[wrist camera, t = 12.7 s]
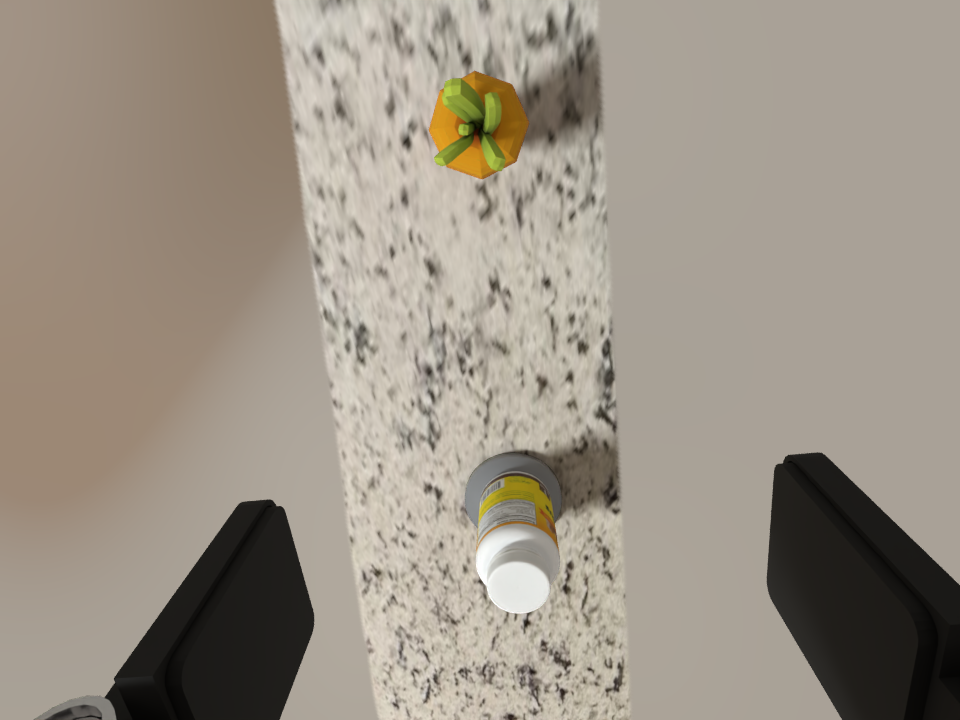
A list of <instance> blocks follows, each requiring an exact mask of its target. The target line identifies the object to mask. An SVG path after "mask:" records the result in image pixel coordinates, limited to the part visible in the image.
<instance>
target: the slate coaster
mask: <svg viewBox="0 0 960 720" xmlns="http://www.w3.org/2000/svg"><path fill="white" fill-rule="evenodd" d="M511 471H520V472H525V473H528V474H531V475H533V476H535V477H536V478H538V479H539V480H540V481H541V482H542V483H543V484H544V485H545V486H546V488H547V490H548V491H549V494H550V497H551V502H552V508H553V515H554V522H555V521H556V519H557V517H558V515H559V513H560V509H561V504H562V496H561V490H560V485H559V482H558V480H557V478H556V476H555V474H554V473H553V471H552V470H551V469H550V468H549V467H548V466H547V465H546V464H545V463H543V462H542V461H540V460H539V459H537V458H535V457H532V456H529V455H526V454H521V453H505V454H500V455H496V456H494V457H491V458H489V459H487V460H486V461H484V462H483V463H481V464H480V465H479V466H478V467H477V468H476V469H475V470H474V471H473V473H472V474H471V476H470V478H469V480H468V483H467V486H466V492H465V506H466V511H467V513H468V516H469V518H470V519H471V521H472V522H473V524H474V525H475V526H476V527H477V528H478V522H479V509H480V499H481V495H482V492H483V490H484V488H485V486H486V485H487V484H488V483H489V482H490V481H491V480H492V479H493V478H495V477H496V476H498V475H500V474H503V473H506V472H511Z"/></svg>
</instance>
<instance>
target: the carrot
mask: <svg viewBox="0 0 960 720" xmlns="http://www.w3.org/2000/svg"><path fill="white" fill-rule="evenodd" d="M528 125H529V121H528V119H527V117H526V114H525V112H524V110H523V107H522V105H521V103H520V101H519V98H518V96H517V94H516V92H515V89H514V87H513V85H512V84H510V83H507V82H504V81H501V80H498V79H496V78H493V77H490V76H487V75H485V74H482V73H479V72H476V71H474V72H472V73H470V74H468V75H467V76H465V77H463V78H455V79H450V80H448V81H446V82H445V86H444V89H442V90H440V92H439V96H438V99H437V103H436V106H435V110H434V113H433V117H432V121H431V124H430V128H429V132H430V134H431V136H432V138H433V140H434V142H435V144H436V146H437V148H438V150H439V153H438V154H437V155H436V156H435V157H434V159H435V162H436V163H437V164H438V165H440V166H445V165H446V167H448V168H451V169H454V170H457V171H460V172H462V173H465V174H468V175H471V176H474V177H477V178H480V179H484V178H486V177H488V176H490V175H492V174H494V173H496V172H498V171H502V169H503V168H505V167H507V166H509V165H511V164H513V163H515V162H516V161H517V158H518V155H519V152H520V149H521V146H522V143H523V140H524V137H525V134H526V131H527V128H528Z"/></svg>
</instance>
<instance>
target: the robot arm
mask: <svg viewBox="0 0 960 720" xmlns="http://www.w3.org/2000/svg"><path fill="white" fill-rule="evenodd" d="M772 496H773V497H772V510H771V525H770V540H769V554H768V570H767V587H768V592H769V595H770V597H771V600H772V602H773V603H774V605H775V607H776V609H777V610H778V612H779V614H780V615H781V617H782V619H783V620H784V622H785V624H786V626H787V627H788V629H789V630H790V632H791V634H792V636H793V637H794V639H795V641H796V642H797V644H798V646H799V648H800V649H801V651H802V652H803V654H804V656H805V658H806V659H807V661H808V663H809V664H810V666H811V668H812V670H813V671H814V673H815V675H816V676H817V678H818V680H819V681H820V683H821V685H822V686H823V688H824V690H825V691H826V693H827V695H828V696H829V698H830V700H831V702H832V703H833V705H834V706H835V708H836V710H837V712H838V713H839V715H840V717H841V718H842V720H960V585H959V584H958V583H957V582H956V581H955V580H954V579H953V578H952V577H951V576H949V574H948V573H946V571H944V570H943V569H942V568H941V567H940V566H939V565H938V564H937V563H936V562H935V561H934V560H933V559H932V558H931V557H930V556H929V555H928V554H927V553H926V552H925V551H924V550H923V549H922V548H921V547H920V546H919V545H918V544H916V542H914V541H913V540H912V539H911V538H910V537H909V536H908V535H907V534H906V533H905V532H904V531H903V530H902V529H901V528H900V527H899V526H898V525H897V524H896V523H895V522H894V521H893V520H892V519H891V518H890V517H889V516H888V515H886V514H885V513H884V512H883V511H882V510H881V509H880V508H879V507H878V506H877V505H876V504H875V503H874V502H873V501H872V500H871V499H870V498H869V497H868V496H867V495H866V494H865V493H864V492H863V491H862V490H861V489H859V488H858V487H857V486H856V485H855V484H854V483H853V482H852V481H851V480H850V479H849V478H848V477H847V476H846V475H845V474H844V473H843V472H842V471H841V470H840V469H839V468H838V467H837V466H836V465H835V464H834V463H833V462H832V461H831V460H830V459H828V458H827V457H826V456H825V455H824V454H823V453H807V454H795V455H788V456H786V457H785V459H784V461H783V464H777V465H776V467H775V470H774V481H773V495H772ZM313 627H314V612H313V608H312V605H311V601H310V598H309V594H308V591H307V587H306V584H305V580H304V577H303V573H302V569H301V566H300V562H299V559H298V555H297V552H296V548H295V545H294V541H293V537H292V534H291V530H290V527H289V523H288V520H287V516H286V513H285V510H284V508H283V507H281V506H276V504H275V503H274V502H273V501H272V500H259V501H247V502H242V503H240V504H239V505H238V506H237V507H236V508H235V510H234V511H233V513H232V514H231V515H230V517H229V518H228V520H227V521H226V522H225V524H224V525H223V527H222V528H221V530H220V531H219V532H218V534H217V535H216V536H215V538H214V539H213V541H212V542H211V543H210V545H209V546H208V548H207V549H206V550H205V552H204V553H203V555H202V556H201V557H200V559H199V560H198V562H197V563H196V564H195V566H194V567H193V569H192V570H191V571H190V573H189V574H188V575H187V577H186V578H185V580H184V581H183V582H182V584H181V585H180V587H179V588H178V589H177V591H176V593H175V594H174V595H173V596H172V598H171V599H170V601H169V602H168V603H167V605H166V606H165V608H164V609H163V611H162V612H161V613H160V615H159V616H158V618H157V619H156V620H155V622H154V623H153V624H152V626H151V627H150V629H149V630H148V631H147V633H146V634H145V636H144V637H143V638H142V640H141V641H140V643H139V644H138V646H137V647H136V648H135V649H134V651H133V652H132V654H131V655H130V656H129V658H128V659H127V661H126V662H125V663H124V665H123V666H122V668H121V669H120V670H119V672H118V673H117V675H116V676H115V678H114V681H115V684H114V685H113V686H112V688H111V689H110V691H109V692H108V694H107V695H106V696H105V698H103V697H101V696H84V697H79V698H75V699H71V700H69V701H66V702H64V703H62V704H60V705H57V706H55V707H53V708H51V709H50V710H48V711H47V712H45V713H43V714H42V715H40V716H39V717H37V718H35V719H34V720H279V719H280V717H281V714H282V711H283V709H284V706H285V704H286V701H287V698H288V696H289V693H290V691H291V688H292V685H293V682H294V680H295V677H296V675H297V672H298V669H299V667H300V664H301V661H302V659H303V656H304V653H305V651H306V648H307V646H308V643H309V640H310V638H311V635H312V632H313Z"/></svg>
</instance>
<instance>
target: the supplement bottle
mask: <svg viewBox="0 0 960 720" xmlns="http://www.w3.org/2000/svg"><path fill="white" fill-rule="evenodd" d="M476 567H477V571H478V574H479V576H480V578H481V580H482V581H483V583H484V584H485V585H486V586H487V590H488V594H489V596H490V598H491V600H492V601H493V602H494V604H496V605H497V606H498V607H499V608H501V609H503V610H505V611H507V612H511V613H528V612H531V611H534V610H536V609H538V608H539V607H541V606H542V605H543V604H544V603H545V602H546V600H547V599H548V597H549V594H550V589H551V584H552V583H553V582H554V580H555V579H556V577H557V574H558V572H559V567H560V556H559V549H558V542H557V535H556V529H555V522H554V515H553V508H552V502H551V497H550V494H549V491H548V490H547V488H546V486H545V485H544V484H543V483H542V482H541V481H540V480H539V479H538V478H536V477H535V476H533V475H531V474H528V473H525V472H520V471H511V472H506V473H503V474H500V475H498V476H496V477H495V478H493V479H492V480H491V481H490V482H489V483H488V484H487V485H486V486H485V488H484V490H483V492H482V495H481V499H480V509H479V522H478V536H477V548H476Z"/></svg>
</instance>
